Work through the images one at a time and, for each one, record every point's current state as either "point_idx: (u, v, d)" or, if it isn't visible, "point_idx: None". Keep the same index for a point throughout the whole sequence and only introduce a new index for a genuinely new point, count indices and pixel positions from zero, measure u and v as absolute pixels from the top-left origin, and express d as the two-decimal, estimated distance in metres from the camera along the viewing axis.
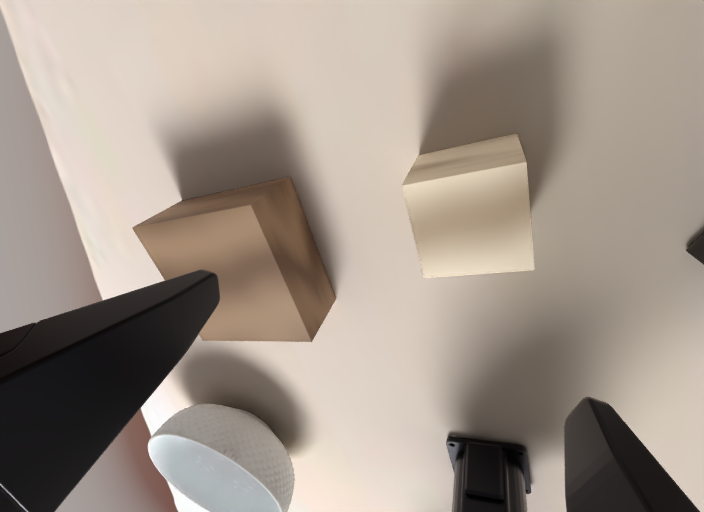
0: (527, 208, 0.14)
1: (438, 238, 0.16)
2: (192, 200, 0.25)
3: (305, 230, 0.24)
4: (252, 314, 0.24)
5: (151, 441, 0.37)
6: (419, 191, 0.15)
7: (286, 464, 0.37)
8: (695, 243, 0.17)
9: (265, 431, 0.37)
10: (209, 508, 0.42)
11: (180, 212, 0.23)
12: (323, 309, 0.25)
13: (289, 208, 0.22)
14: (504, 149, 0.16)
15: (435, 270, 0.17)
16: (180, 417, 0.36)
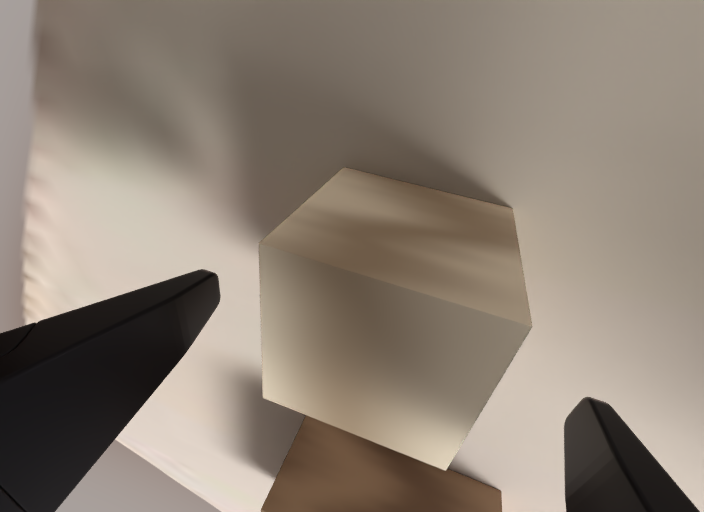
0: (355, 276, 0.06)
1: (368, 413, 0.08)
2: None
3: (371, 450, 0.17)
4: None
5: None
6: (276, 387, 0.09)
7: None
8: None
9: None
10: None
11: None
12: None
13: (327, 449, 0.17)
14: None
15: (436, 451, 0.08)
16: None
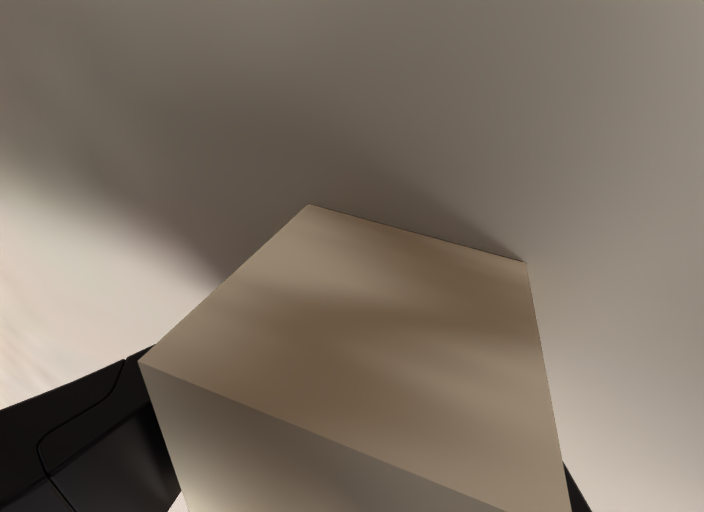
0: (284, 424, 0.04)
1: None
2: None
3: None
4: None
5: None
6: None
7: None
8: None
9: None
10: None
11: None
12: None
13: None
14: None
15: None
16: None
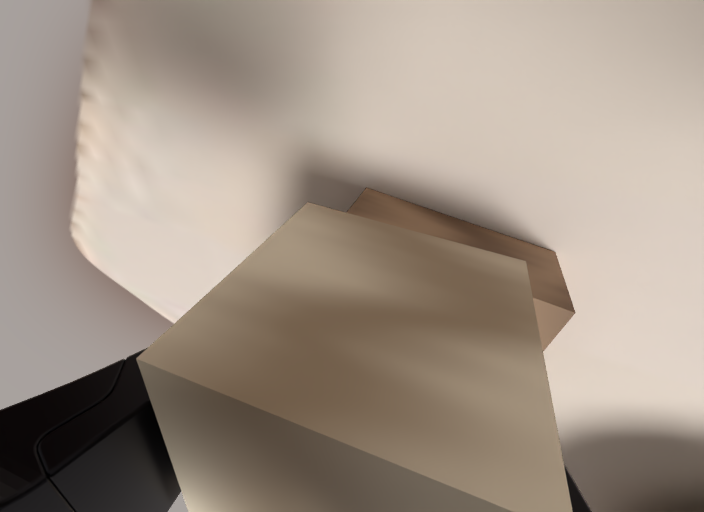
0: (283, 421, 0.04)
1: None
2: None
3: (430, 215, 0.17)
4: None
5: None
6: None
7: None
8: None
9: None
10: None
11: None
12: (548, 270, 0.15)
13: (390, 208, 0.17)
14: None
15: None
16: None
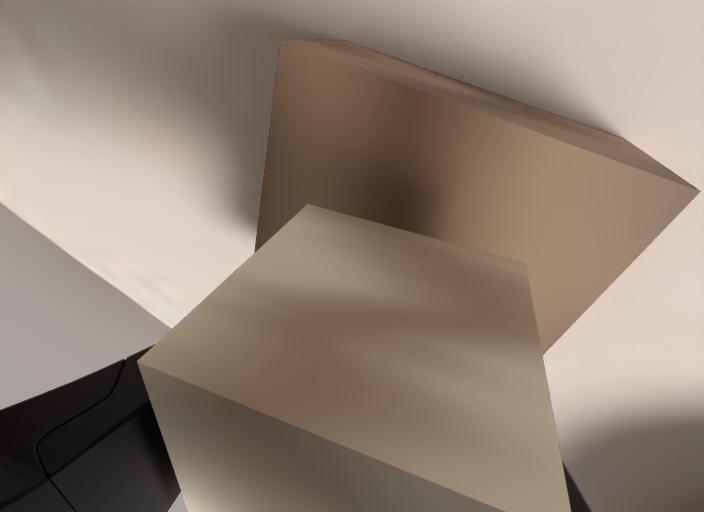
0: (283, 424, 0.04)
1: None
2: None
3: (440, 76, 0.11)
4: None
5: None
6: None
7: None
8: None
9: None
10: None
11: None
12: (628, 149, 0.10)
13: (377, 57, 0.11)
14: None
15: None
16: None
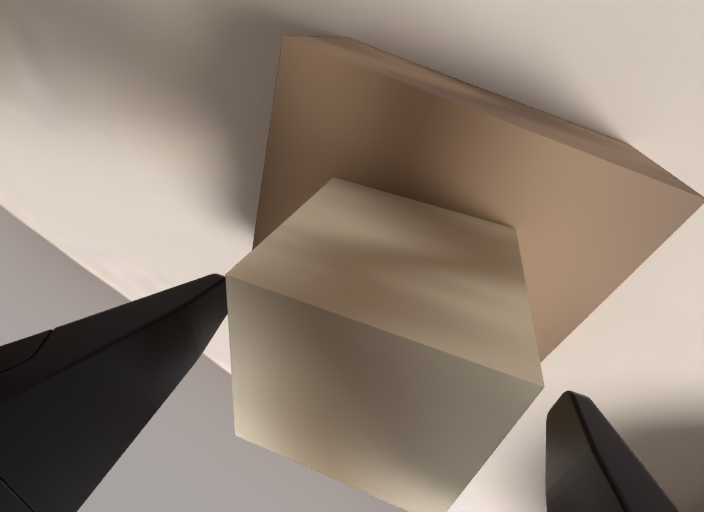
0: (337, 318, 0.05)
1: (352, 460, 0.07)
2: None
3: (443, 76, 0.11)
4: None
5: None
6: (250, 425, 0.08)
7: None
8: None
9: None
10: None
11: None
12: (633, 154, 0.09)
13: (381, 55, 0.11)
14: None
15: (427, 503, 0.07)
16: None
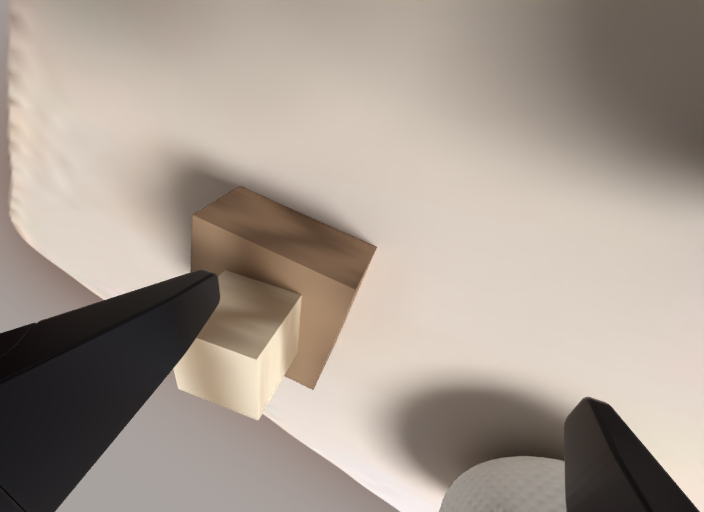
0: (199, 339, 0.16)
1: (221, 394, 0.18)
2: None
3: (284, 211, 0.22)
4: (300, 317, 0.21)
5: None
6: (182, 383, 0.19)
7: None
8: None
9: (531, 459, 0.24)
10: None
11: None
12: (358, 259, 0.21)
13: (250, 204, 0.22)
14: None
15: (251, 411, 0.18)
16: None
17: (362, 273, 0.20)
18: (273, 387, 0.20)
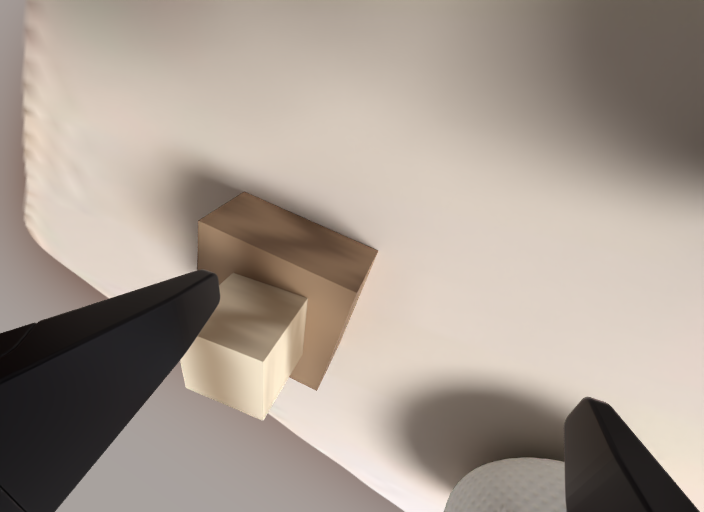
0: (207, 341, 0.17)
1: (227, 394, 0.19)
2: None
3: (288, 216, 0.23)
4: None
5: None
6: (190, 382, 0.19)
7: None
8: None
9: (535, 460, 0.25)
10: None
11: None
12: (360, 263, 0.21)
13: (254, 209, 0.22)
14: None
15: (256, 411, 0.19)
16: None
17: (363, 276, 0.20)
18: (278, 388, 0.20)
